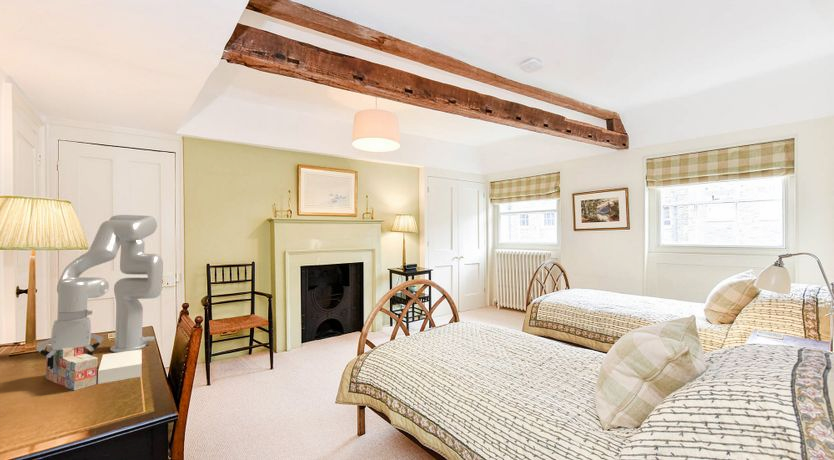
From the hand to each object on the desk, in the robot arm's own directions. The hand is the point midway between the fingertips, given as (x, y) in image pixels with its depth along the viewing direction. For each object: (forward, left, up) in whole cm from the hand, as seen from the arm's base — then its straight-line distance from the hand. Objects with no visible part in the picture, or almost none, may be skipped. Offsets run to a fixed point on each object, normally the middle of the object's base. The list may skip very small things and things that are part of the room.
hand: (70, 364), depth 127 cm
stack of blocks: (0, 0, -6) cm, 6 cm away
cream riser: (-14, 0, -6) cm, 15 cm away
